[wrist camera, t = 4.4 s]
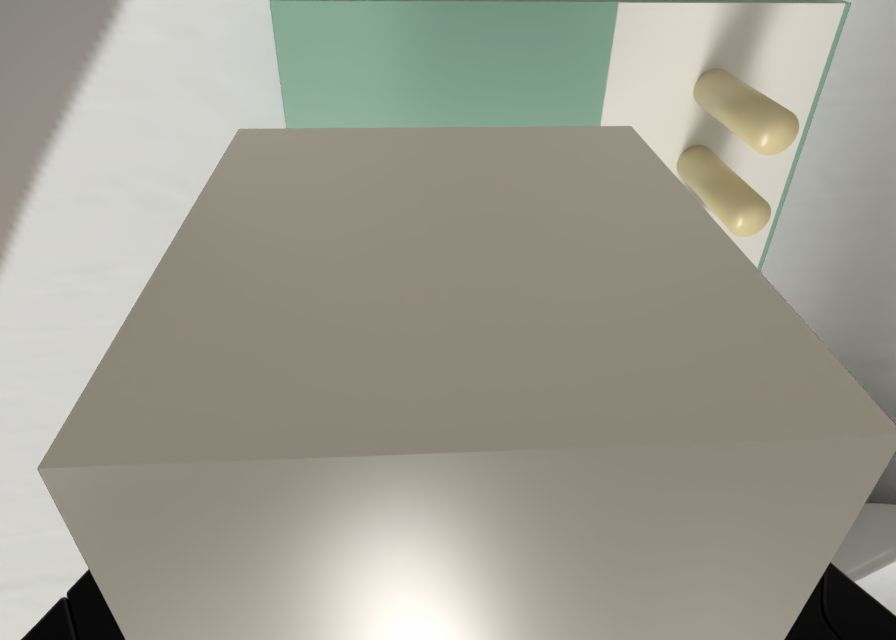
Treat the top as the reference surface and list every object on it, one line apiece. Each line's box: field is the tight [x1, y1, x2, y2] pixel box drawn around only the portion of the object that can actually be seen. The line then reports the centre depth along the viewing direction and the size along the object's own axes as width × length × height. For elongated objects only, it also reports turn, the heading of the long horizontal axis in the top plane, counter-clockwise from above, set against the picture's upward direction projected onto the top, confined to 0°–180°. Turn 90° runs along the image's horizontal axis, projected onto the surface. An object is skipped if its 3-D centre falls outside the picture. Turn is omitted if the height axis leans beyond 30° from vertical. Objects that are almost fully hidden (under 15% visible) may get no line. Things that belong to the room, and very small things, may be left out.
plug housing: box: [37, 126, 896, 640], centre depth 8 cm, size 4×8×5 cm, turn 179°
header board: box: [270, 0, 851, 271], centre depth 17 cm, size 14×8×5 cm, turn 89°
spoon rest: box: [831, 503, 896, 615], centre depth 26 cm, size 24×12×7 cm, turn 61°
